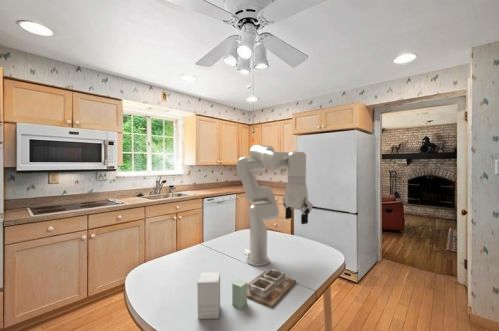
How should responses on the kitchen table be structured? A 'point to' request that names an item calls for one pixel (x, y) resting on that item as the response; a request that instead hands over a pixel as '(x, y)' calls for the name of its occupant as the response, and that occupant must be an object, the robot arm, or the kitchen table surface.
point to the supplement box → (208, 295)
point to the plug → (239, 293)
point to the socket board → (269, 287)
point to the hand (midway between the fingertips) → (296, 220)
